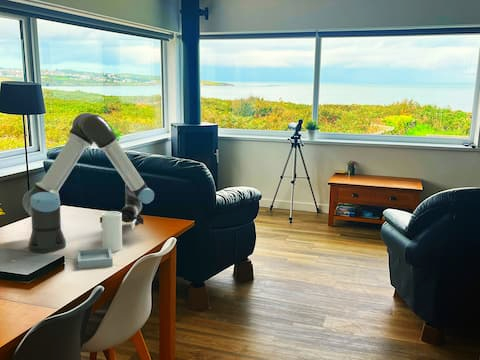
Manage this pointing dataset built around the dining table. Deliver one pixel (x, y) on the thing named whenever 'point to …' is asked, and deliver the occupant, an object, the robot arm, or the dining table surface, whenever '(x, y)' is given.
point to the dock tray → (94, 258)
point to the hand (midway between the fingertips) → (117, 225)
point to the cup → (112, 230)
